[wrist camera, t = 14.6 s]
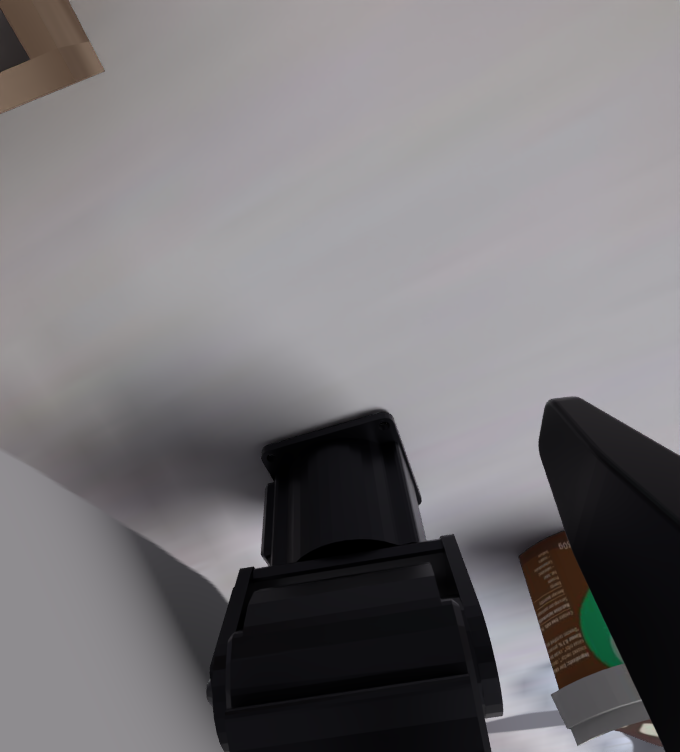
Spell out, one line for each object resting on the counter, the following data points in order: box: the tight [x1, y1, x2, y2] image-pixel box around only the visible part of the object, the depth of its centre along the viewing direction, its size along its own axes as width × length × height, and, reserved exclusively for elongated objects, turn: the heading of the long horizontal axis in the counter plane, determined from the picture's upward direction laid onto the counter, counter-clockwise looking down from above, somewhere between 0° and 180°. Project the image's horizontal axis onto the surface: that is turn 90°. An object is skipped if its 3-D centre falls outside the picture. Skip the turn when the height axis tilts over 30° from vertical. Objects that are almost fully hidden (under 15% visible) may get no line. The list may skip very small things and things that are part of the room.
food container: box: [519, 531, 663, 747], centre depth 28 cm, size 12×6×10 cm, turn 63°
